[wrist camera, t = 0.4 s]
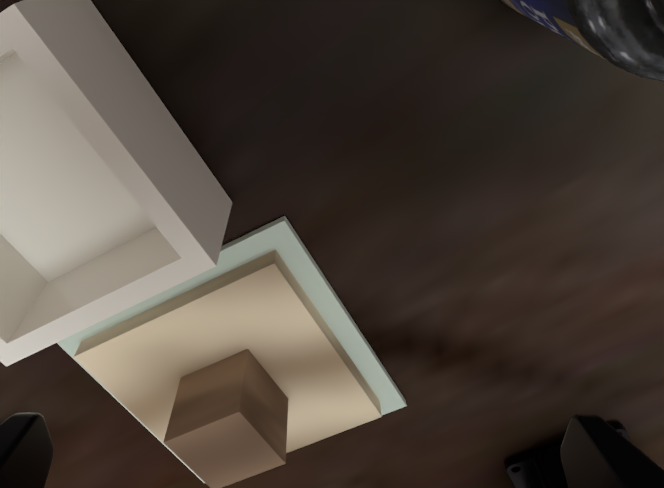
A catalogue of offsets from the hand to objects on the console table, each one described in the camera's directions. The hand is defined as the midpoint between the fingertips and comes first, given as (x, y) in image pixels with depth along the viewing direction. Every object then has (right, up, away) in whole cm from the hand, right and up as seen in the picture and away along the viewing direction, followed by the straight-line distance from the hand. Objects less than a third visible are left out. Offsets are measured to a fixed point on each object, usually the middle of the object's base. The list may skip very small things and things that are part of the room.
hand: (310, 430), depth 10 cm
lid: (-4, -3, +17) cm, 18 cm away
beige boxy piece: (-10, +6, +11) cm, 16 cm away
